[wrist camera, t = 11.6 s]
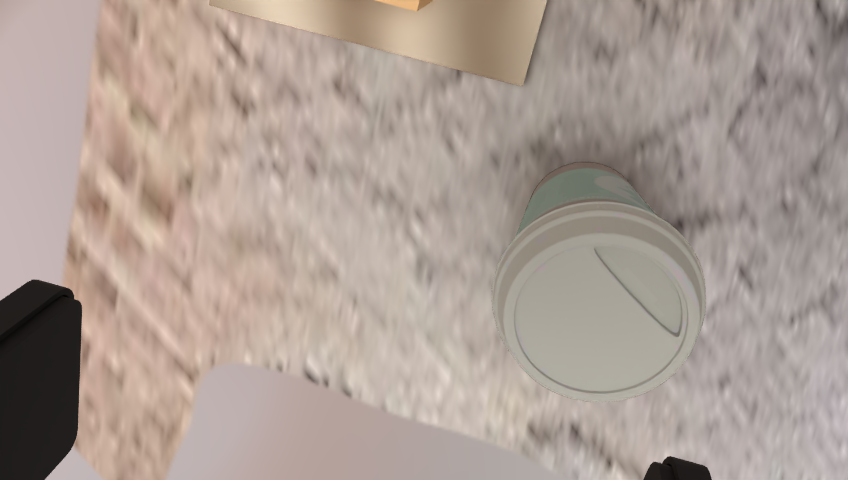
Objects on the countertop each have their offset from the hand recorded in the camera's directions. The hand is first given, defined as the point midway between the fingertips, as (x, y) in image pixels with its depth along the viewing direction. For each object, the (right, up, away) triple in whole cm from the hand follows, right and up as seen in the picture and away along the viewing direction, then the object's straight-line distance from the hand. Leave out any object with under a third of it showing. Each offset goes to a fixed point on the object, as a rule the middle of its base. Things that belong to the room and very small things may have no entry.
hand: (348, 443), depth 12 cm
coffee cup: (+10, +5, +28) cm, 30 cm away
